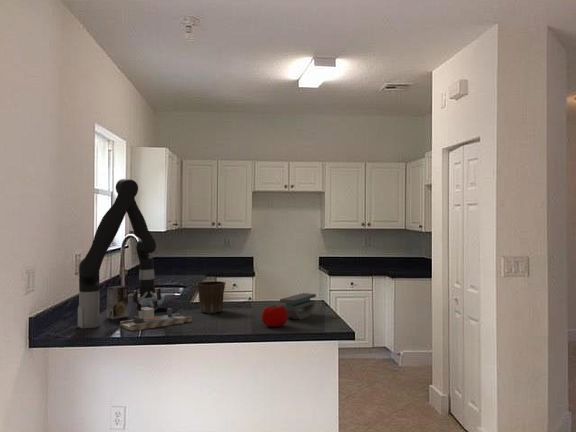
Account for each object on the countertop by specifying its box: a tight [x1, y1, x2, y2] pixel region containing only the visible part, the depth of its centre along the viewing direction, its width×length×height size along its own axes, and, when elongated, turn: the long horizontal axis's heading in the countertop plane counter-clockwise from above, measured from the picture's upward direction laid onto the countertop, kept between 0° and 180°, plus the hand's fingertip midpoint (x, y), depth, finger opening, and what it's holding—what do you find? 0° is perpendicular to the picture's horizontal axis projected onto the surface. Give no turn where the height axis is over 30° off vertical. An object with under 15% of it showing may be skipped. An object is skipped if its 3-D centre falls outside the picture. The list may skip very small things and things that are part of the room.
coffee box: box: [106, 285, 129, 320], centre depth 276 cm, size 9×6×16 cm
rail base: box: [119, 313, 193, 332], centre depth 258 cm, size 32×13×4 cm, turn 131°
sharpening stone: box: [279, 292, 317, 320], centre depth 276 cm, size 25×8×11 cm, turn 150°
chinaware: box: [137, 293, 166, 311], centre depth 300 cm, size 15×15×8 cm
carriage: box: [143, 307, 177, 323], centre depth 258 cm, size 16×9×5 cm, turn 131°
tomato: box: [261, 304, 288, 328], centre depth 252 cm, size 11×13×10 cm
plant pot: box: [196, 280, 227, 314], centre depth 292 cm, size 16×16×16 cm
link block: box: [138, 307, 155, 318], centre depth 268 cm, size 5×7×6 cm
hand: (147, 309), depth 268 cm, fingers open, 8 cm apart
